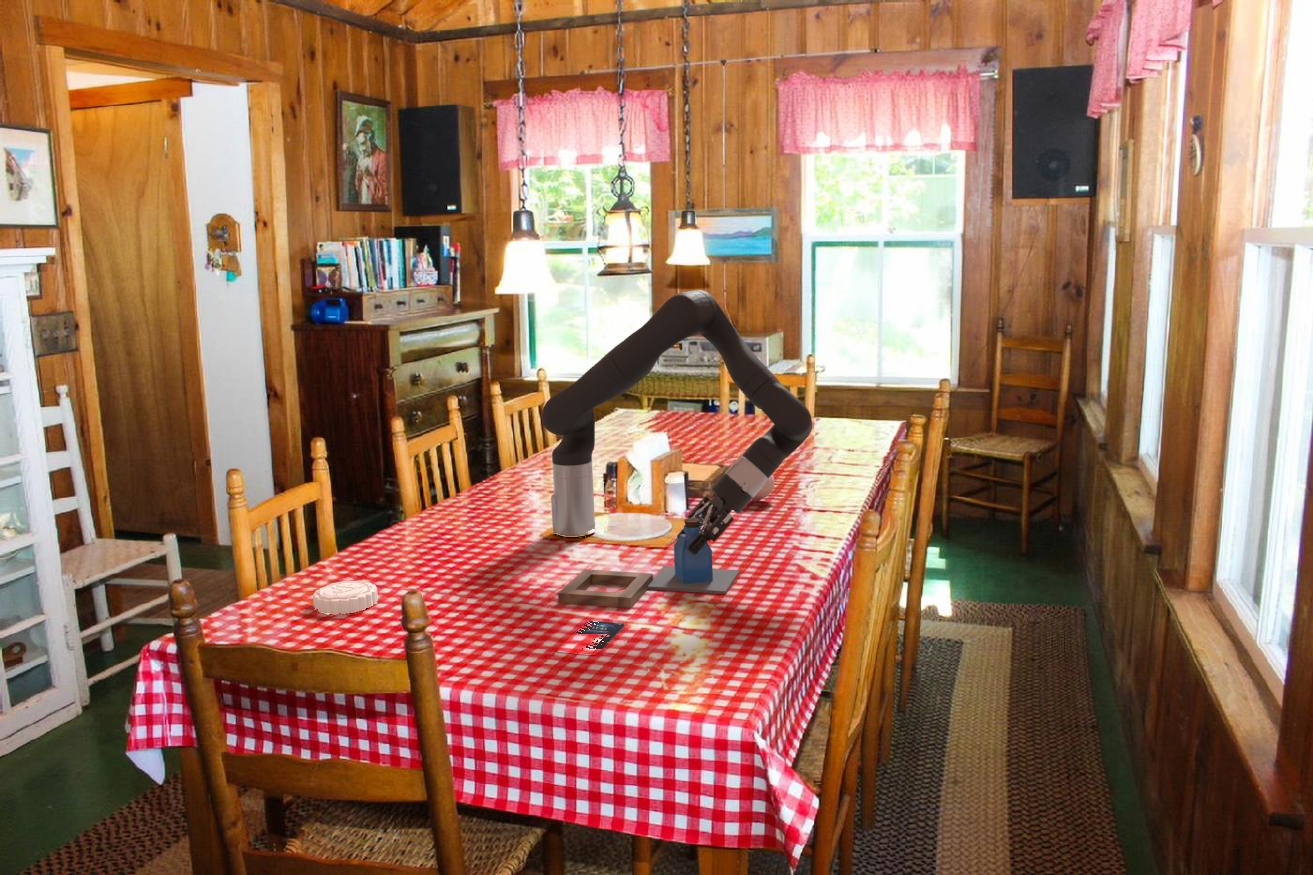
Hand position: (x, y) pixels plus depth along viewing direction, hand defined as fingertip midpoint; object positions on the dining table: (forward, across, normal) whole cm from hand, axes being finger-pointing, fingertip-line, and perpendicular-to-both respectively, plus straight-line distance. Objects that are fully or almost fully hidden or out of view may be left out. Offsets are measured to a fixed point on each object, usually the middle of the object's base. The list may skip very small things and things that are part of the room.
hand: (685, 545), depth 212 cm
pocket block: (+17, +1, -6) cm, 18 cm away
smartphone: (+22, +24, -11) cm, 34 cm away
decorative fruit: (-19, -55, +30) cm, 65 cm away
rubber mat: (+4, 0, +6) cm, 8 cm away
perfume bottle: (+4, 0, +6) cm, 7 cm away
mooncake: (+52, -9, -41) cm, 67 cm away
